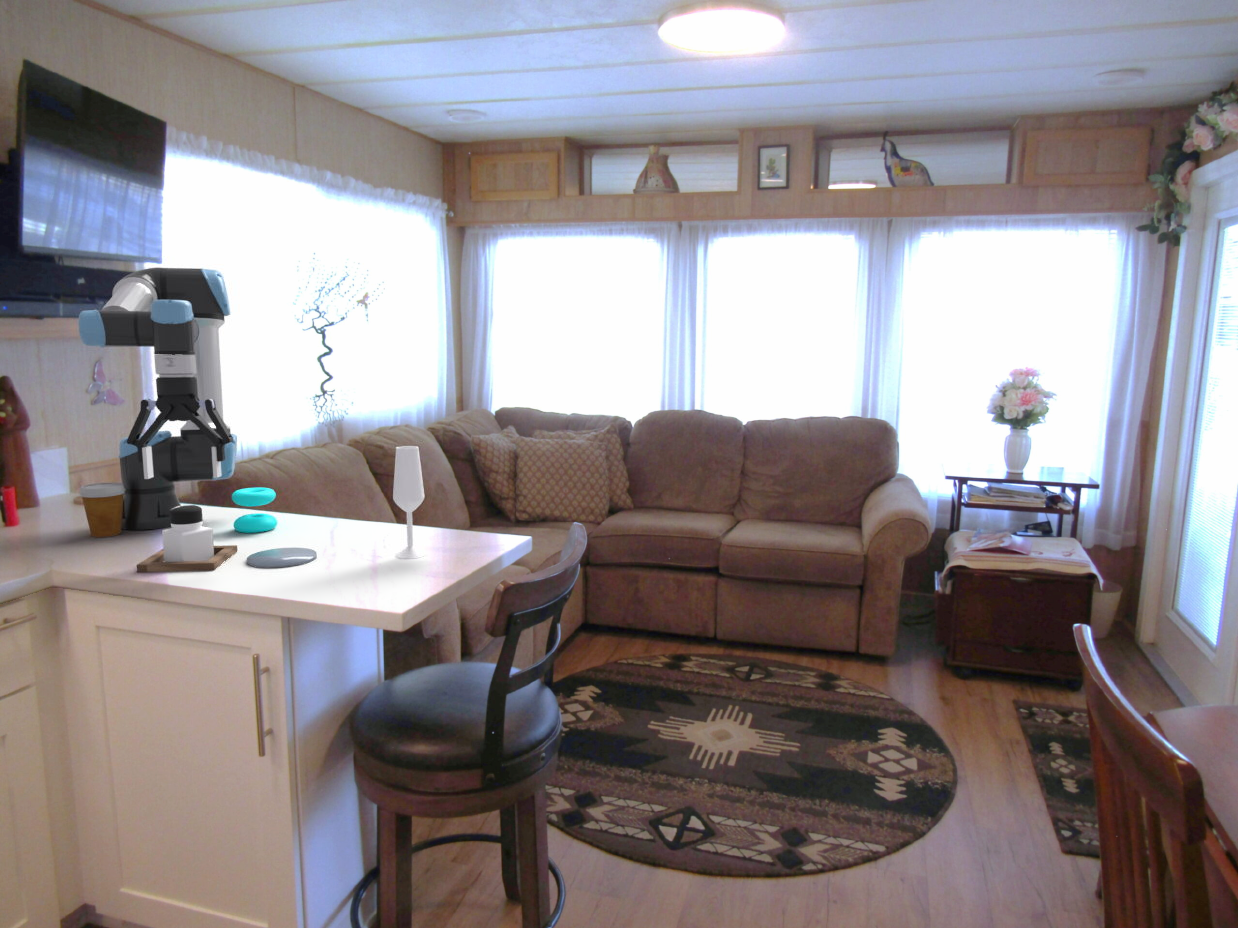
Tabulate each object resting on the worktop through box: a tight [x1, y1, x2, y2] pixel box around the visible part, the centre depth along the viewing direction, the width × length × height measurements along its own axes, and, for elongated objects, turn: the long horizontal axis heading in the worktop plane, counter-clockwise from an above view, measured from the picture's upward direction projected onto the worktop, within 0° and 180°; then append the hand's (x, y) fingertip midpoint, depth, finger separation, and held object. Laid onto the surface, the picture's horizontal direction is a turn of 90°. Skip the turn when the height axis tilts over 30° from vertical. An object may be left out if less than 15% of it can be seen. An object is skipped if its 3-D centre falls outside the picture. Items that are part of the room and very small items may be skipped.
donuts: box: [231, 487, 278, 534], centre depth 209 cm, size 10×10×10 cm
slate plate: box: [246, 547, 318, 568], centre depth 182 cm, size 14×14×1 cm
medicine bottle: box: [161, 504, 215, 562], centre depth 179 cm, size 7×7×12 cm
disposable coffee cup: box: [78, 482, 125, 538], centre depth 203 cm, size 10×10×12 cm
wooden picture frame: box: [135, 544, 238, 573], centre depth 180 cm, size 15×15×2 cm
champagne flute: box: [392, 445, 427, 560], centre depth 185 cm, size 7×7×24 cm
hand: (183, 477), depth 177 cm, fingers open, 13 cm apart
